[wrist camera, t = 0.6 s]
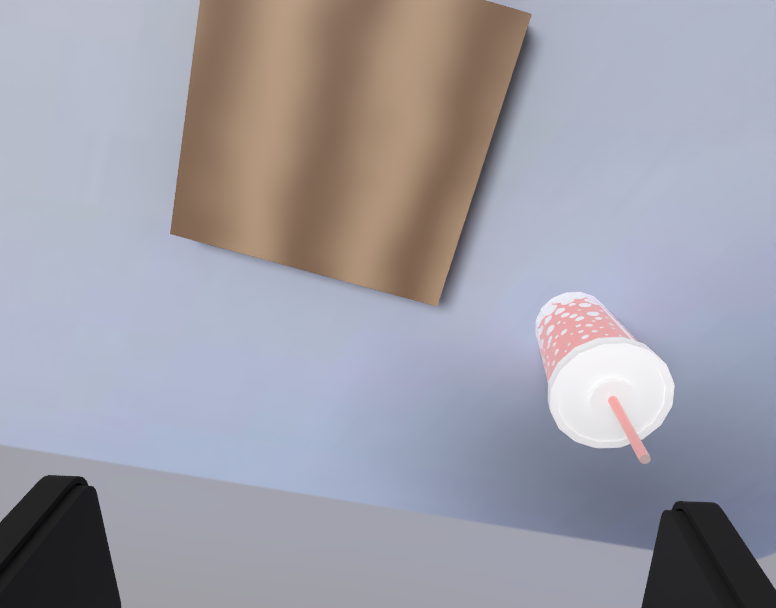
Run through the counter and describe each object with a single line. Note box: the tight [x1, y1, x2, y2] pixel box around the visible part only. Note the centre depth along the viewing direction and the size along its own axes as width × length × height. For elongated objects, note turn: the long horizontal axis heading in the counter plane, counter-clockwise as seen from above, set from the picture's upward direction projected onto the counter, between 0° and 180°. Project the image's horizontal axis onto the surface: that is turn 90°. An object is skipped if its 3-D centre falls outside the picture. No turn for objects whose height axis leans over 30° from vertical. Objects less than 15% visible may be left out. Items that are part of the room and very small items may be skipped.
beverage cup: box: [536, 292, 675, 464], centre depth 32 cm, size 6×6×14 cm
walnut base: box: [170, 0, 532, 306], centre depth 33 cm, size 16×16×3 cm
